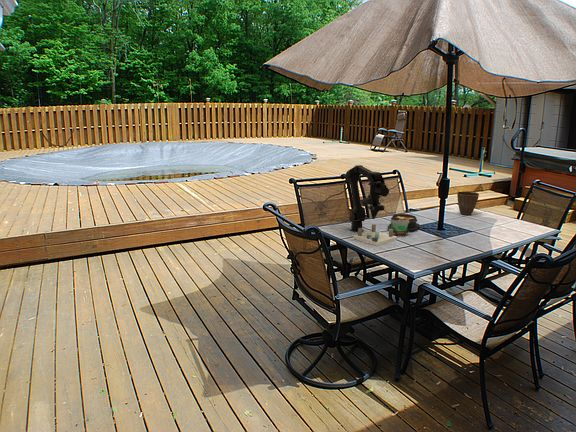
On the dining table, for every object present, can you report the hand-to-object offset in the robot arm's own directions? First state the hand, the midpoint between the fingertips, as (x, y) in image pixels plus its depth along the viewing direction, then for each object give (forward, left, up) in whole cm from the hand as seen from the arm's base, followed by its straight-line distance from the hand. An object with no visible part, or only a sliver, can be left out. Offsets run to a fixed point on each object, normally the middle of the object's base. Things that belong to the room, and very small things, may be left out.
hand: (373, 218), depth 260 cm
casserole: (0, +32, -12) cm, 34 cm away
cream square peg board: (+3, -1, -12) cm, 12 cm away
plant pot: (+7, +100, -12) cm, 101 cm away
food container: (+8, +18, -12) cm, 23 cm away
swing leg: (+6, -8, -10) cm, 14 cm away
